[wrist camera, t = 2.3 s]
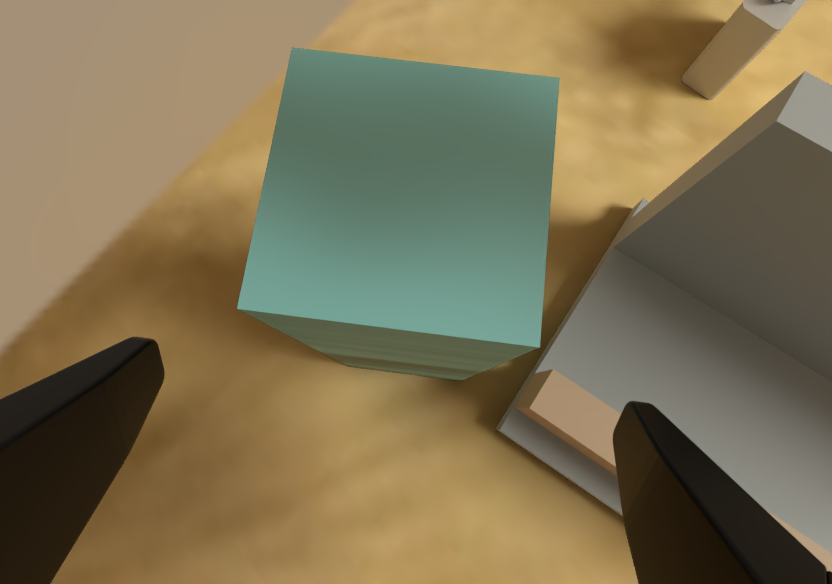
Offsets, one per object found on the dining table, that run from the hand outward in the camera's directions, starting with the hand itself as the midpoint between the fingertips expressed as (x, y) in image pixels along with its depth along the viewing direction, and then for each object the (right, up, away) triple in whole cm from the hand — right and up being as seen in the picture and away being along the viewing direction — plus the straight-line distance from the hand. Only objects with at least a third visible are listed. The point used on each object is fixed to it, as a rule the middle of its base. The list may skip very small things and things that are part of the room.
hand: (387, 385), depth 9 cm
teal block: (0, +1, +11) cm, 11 cm away
